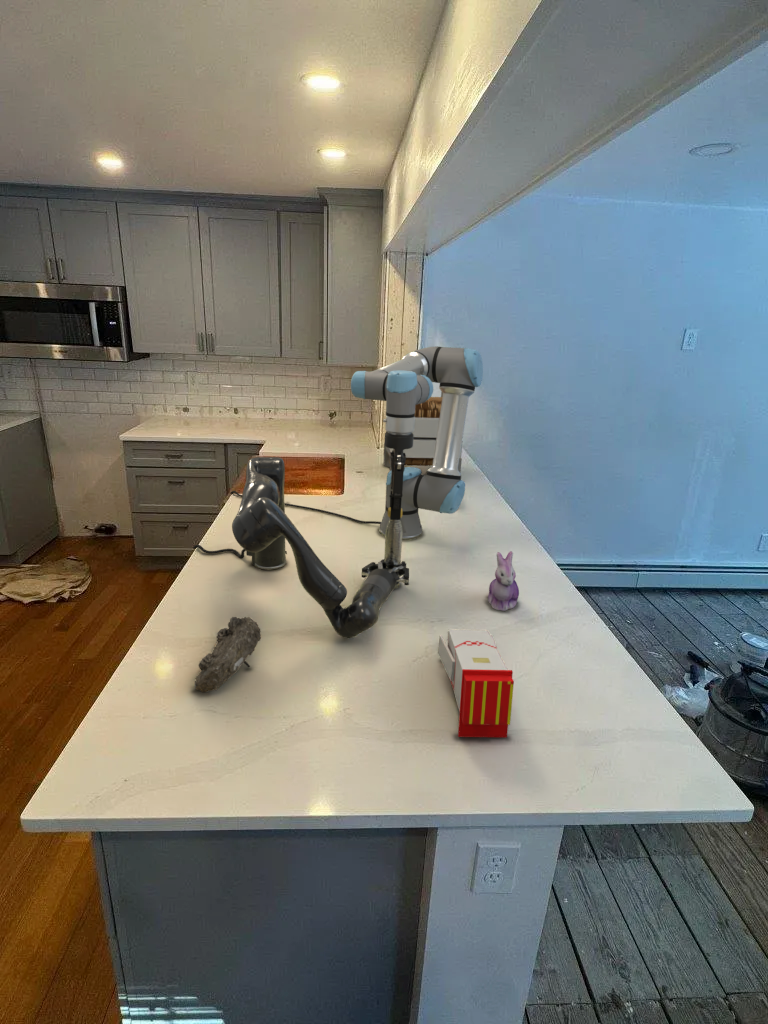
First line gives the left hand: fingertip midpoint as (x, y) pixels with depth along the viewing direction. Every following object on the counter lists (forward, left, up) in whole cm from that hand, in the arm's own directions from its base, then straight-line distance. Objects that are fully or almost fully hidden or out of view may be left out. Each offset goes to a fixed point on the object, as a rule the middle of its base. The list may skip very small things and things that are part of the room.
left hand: (394, 562), depth 163 cm
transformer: (-20, +116, -6) cm, 118 cm away
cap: (0, -3, +17) cm, 17 cm away
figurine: (+32, -2, -6) cm, 32 cm away
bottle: (0, -3, -6) cm, 7 cm away
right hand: (0, -3, +15) cm, 15 cm away
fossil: (-21, -52, -6) cm, 57 cm away
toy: (+29, -43, -6) cm, 52 cm away
